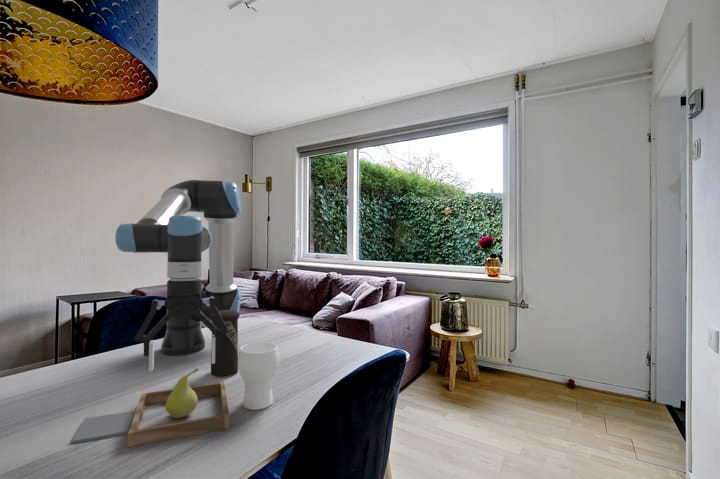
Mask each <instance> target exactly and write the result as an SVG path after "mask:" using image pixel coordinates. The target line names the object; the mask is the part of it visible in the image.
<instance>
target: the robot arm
mask: <svg viewBox="0 0 720 479" xmlns="http://www.w3.org/2000/svg"><path fill="white" fill-rule="evenodd" d="M240 195H241V194H240V190H239V186H238V185H237V184H236V183H235V182H233V181H227V180H205V179H203V180H200V179H189V180H184V181H181V182H179V183H176V184H173V185H172V186H170V187H169V188H166V189H165V191H163V193H162V194H161V195H160V199H159V201H158V202H157V203H156V204H155V205H154V206H153V207H152V208H151V209H149V211H148V212H147V213H145V214H144V216H143V217H141V218H140V219H139V220H138V221H137V222H136V223H131V222H130V223H121V224H120V225H119V226H118V227H117V229H116V231H115V238H114V239H115V244H116V247H117V248H118V250H119V251H120V252H122V253H134V254H138V253H142V254H144V253H166V254H167V264H166V267H167V270H166V271H167V272H166V277H167V278H168V279H169V280H167V281H166V299H165V300H160V299H159V300H158V298H154V299H153V300H152V301H151V304H150V311H149V312H148V314H147V316H146V318H144V319H145V320H144V321H143V323H142V324H141V327H140V328H139V330H138V332H137V333H136V335H135V336H134V341H136V342H141V343H143V356H144V357H148V372H152V371H154V368H155V340H154V339H153V338H154V337H155V336H156V335H157V333H158V332H160V330H161V329H162V328H163V327H164V326H165V325H166V330H165V334H164V337H163V339H162V342H161V345H160V352H161V353H162V354H164V355H168V356H182V355H183V356H184V355H188V354H195V353H197V352H200V351H202V350H203V349H205V347H206V346H205V345H206V340H205V337H204V334H203V331H202V329H201V323H203V325H205V327H207V329H208V330H209V331H210V332H211V347H212V364H214V363H215V349H219V348H220V336H221V335H222V334H224V333H227V332H228V329H227V326H226V325H225V323H224V321H223V319H222V317H221V315H220V313H219V312H218V311H221V310H235V311H237V312H239V313H240V308H241V303H242V290H240V289H238V284H236V283H235V282H234V234H233V232H234V231H233V229H234V228H233V225H234V224H233V223H234V221H235V220H236V219H237V218H238V217H237V216H238V214H240V213H241V212H242V200H241V196H240ZM189 212H191V213H192V212H195V213H203V219H205V220H206V221H207V223H208V225H207V227H208V229H207V228H206V227H205V226H203V221H202V218H201V217H200V216H195V215H184V214H187V213H189ZM206 250H208V265H209V268H208V269H209V270H208V271H209V272H208V273H209V283H208V284H207V285H206V286H205V290H202V280H201V279H200V278H201V277H202V263H203V262H202V255H203V254H202V253H203V252H205V251H206ZM162 306H164V307H165V308H166V314H165V315H164V316H162V318H161V319H160V320H159V322H158V323H157V324H155V326H154V327H153V328H152V329H151V330H150V331H149V332H148V334H145V333H146V330H147V329H148V327H149V326H150V324H151V321H153V318H154V316H155V315H156V313H157V311H158V310H161V308H162ZM212 313H213V314H214V316H215V318H216V320H217V322H218V324H219V325H220V327H221V329H218V328H217V327H216V326H215V325H214V324H213V323H212V320H211V318H210V315H211V314H212ZM212 333H213V334H214V335H212Z"/></svg>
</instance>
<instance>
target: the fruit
mask: <svg viewBox="0 0 720 479" xmlns="http://www.w3.org/2000/svg"><path fill="white" fill-rule="evenodd" d="M198 371H199V369H198V368H195V370H193V371H191V372H189V373H188V374H185V375H183V376H181V377H180V378H179V379H178V381H177V383H176V384H175V386H174V388H173V389H174V390H173V391H172V393H171V394H170V396H169V397H168V399H167V401H166V403H165V410H166V412H167V413H168V414H169V415H170V417H172V418H175V419H183V418H185V417H186V416H189V415H190V414H191V413H192V412H193V411H194V410H195V409H196V408H197V406H198V402H199V401H198V400H199V398H197V395H196V393H195V392H194V391H193V390H192V389H191V388H190V387H191V386H190V384H189V377H190V376H191V375H192V374H196V372H198Z"/></svg>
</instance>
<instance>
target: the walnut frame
mask: <svg viewBox="0 0 720 479" xmlns="http://www.w3.org/2000/svg"><path fill="white" fill-rule="evenodd" d="M189 387H190V388H191V389H192V390H193V391H194V392H195V393H196V395H197V398H198V399H200V398H205V397H213V396H219V395H220V402H221V411H222V414H217V415H210V416H206V417H199V418H195V419H189V420H184V421H183V420H182V421H178V422H172V423H168V424H167V423H165V424H161V425H156V426H150V427H145V428H140V427H141V423H142V419H143V416H144V414H145V409H146V408H147V407H148V406H155V405H161V404H166V401H167V399H168V397H169V396H170V394H171V393H172V391H173V390H174V388H172V389H167V390H165V389H163V390H158V391H151V392H145V393H141V396H140V398H139V402H138V403H137V407H136V410H135V414H134V417H133V420H132V422H131V425H130V428H129V431H128V434H127V448H128V447H129V448H135V447H138V446H143V445H144V446H145V445H148V444H154V443H159V442H164V441H169V440H175V439H180V438H185V437H191V436H196V435H200V434H207V433H211V432H215V431H222V430H225V429H229V428H230V411H229V405H228V399H227V398H228V397H227V393H226V392H227V391H226V385H225V381H219V382H213V383H207V384H199V385H198V384H197V385H194V386H193V385H192V386H189Z"/></svg>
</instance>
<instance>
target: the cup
mask: <svg viewBox="0 0 720 479" xmlns="http://www.w3.org/2000/svg"><path fill="white" fill-rule="evenodd" d="M279 365H280V352H279V349H278V344H276V343H274V342H269V341H253V342H250V343H246V344H243V345H242V346H241V347H239V351H238V372H239V375H240V378H241V379H242V380H243V382H244V383H243V384H244V395H243V400H242V406H243V407H244V408H245V409H247V410H254V411H255V410H257V411H258V410H262V409H267V408H268V407H271V405H273V403H274V397H273V391H272V387H273V380H274V378H275V376H276V374H277V371H278V369H279Z"/></svg>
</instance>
